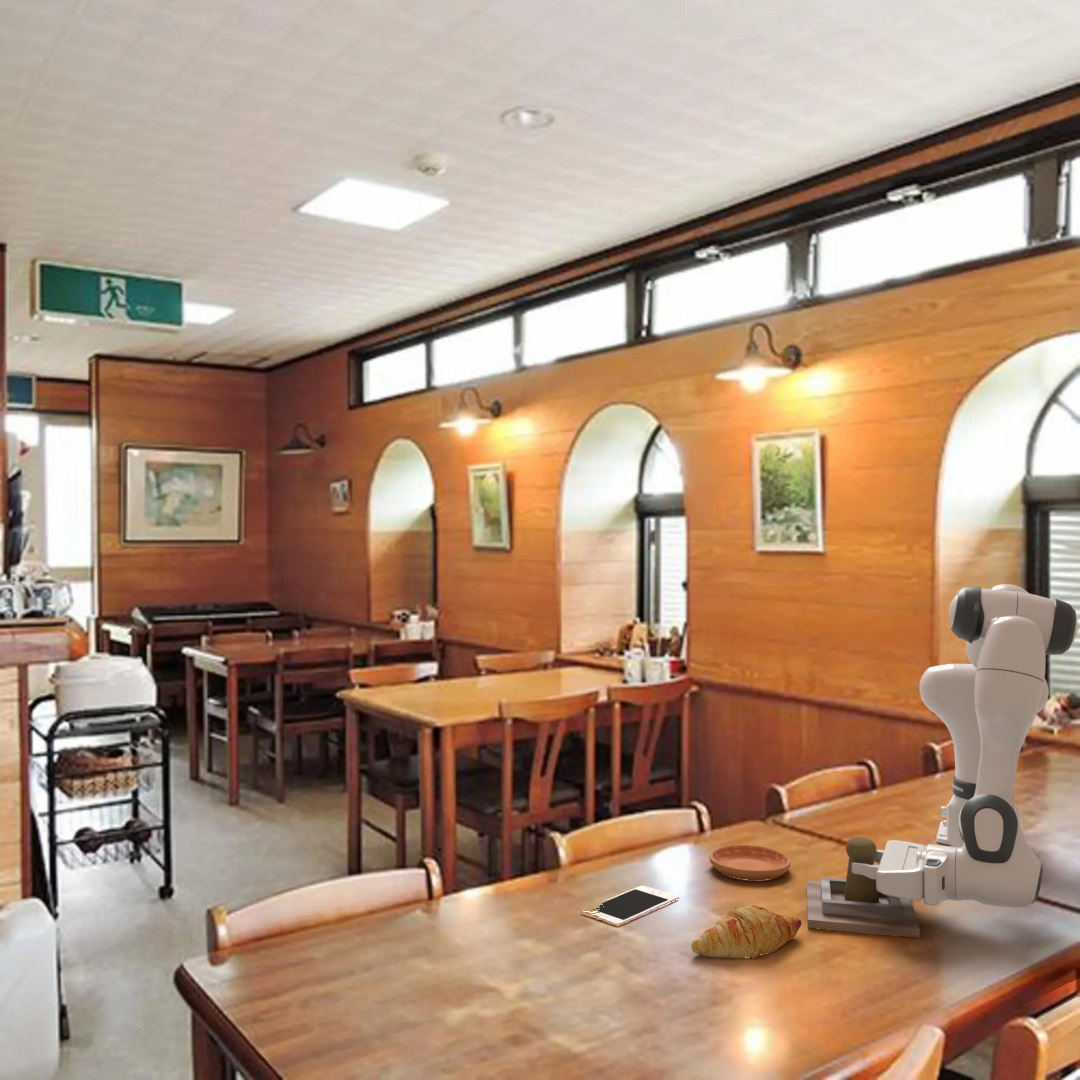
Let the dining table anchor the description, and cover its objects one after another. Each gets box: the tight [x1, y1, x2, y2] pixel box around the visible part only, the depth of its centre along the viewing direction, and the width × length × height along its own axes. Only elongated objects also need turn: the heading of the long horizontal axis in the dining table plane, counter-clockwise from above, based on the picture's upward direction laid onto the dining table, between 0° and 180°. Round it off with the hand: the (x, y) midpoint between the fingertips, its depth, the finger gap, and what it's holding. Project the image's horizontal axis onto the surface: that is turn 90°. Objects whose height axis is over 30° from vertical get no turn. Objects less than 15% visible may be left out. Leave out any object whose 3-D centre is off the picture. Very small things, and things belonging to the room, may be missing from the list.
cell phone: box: [583, 885, 680, 924], centre depth 183 cm, size 9×18×1 cm, turn 136°
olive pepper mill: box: [844, 836, 879, 903], centre depth 181 cm, size 6×6×11 cm
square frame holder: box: [806, 876, 921, 939], centre depth 180 cm, size 20×18×4 cm
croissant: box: [690, 904, 802, 959], centre depth 165 cm, size 21×10×8 cm, turn 116°
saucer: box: [708, 844, 792, 880], centre depth 202 cm, size 16×16×3 cm
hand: (854, 861), depth 180 cm, fingers open, 5 cm apart
